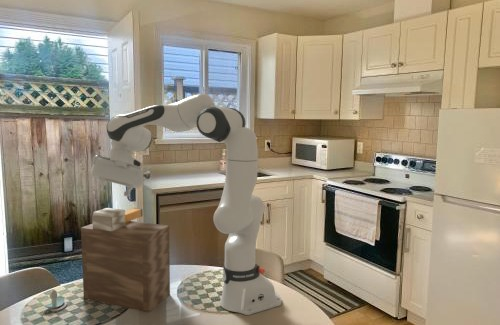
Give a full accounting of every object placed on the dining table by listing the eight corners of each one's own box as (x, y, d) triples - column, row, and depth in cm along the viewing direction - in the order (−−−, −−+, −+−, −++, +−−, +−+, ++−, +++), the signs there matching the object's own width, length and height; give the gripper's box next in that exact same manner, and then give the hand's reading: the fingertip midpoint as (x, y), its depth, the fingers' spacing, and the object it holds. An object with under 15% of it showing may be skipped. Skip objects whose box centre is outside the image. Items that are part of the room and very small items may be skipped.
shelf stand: (109, 283, 154) (106, 203, 150) (169, 294, 145) (168, 209, 141) (83, 298, 141) (80, 211, 137) (148, 312, 132) (146, 219, 128)
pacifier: (71, 304, 138) (56, 302, 139) (70, 287, 137) (55, 285, 138) (57, 314, 131) (41, 312, 132) (57, 297, 130) (41, 294, 131)
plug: (135, 215, 156) (134, 207, 156) (142, 216, 155) (142, 208, 155) (104, 227, 139) (104, 218, 139) (112, 228, 138) (112, 219, 138)
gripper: (97, 150, 145) (91, 184, 139) (146, 165, 157) (142, 196, 152) (90, 156, 149) (84, 189, 144) (139, 169, 162) (135, 200, 156)
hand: (114, 193), depth 148 cm, fingers open, 8 cm apart
